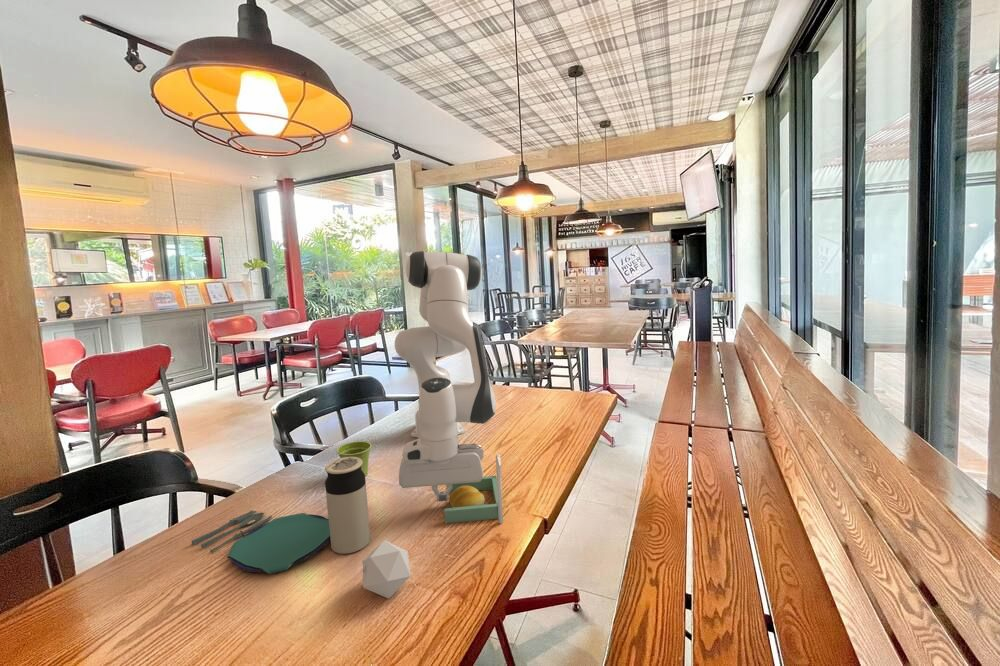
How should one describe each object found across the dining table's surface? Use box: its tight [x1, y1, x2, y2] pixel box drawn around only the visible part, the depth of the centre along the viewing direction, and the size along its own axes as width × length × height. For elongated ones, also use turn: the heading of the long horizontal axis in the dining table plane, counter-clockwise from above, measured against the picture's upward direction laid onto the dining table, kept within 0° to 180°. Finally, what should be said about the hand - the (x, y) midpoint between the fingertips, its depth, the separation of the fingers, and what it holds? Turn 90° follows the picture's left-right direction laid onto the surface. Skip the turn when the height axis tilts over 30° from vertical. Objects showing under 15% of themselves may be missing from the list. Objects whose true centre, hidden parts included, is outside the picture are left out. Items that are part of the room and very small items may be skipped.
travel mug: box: [324, 457, 371, 555], centre depth 93 cm, size 8×8×18 cm
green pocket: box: [444, 454, 504, 525], centre depth 104 cm, size 22×13×16 cm, turn 6°
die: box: [361, 539, 412, 600], centre depth 79 cm, size 8×9×10 cm
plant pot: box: [336, 440, 372, 478], centre depth 125 cm, size 9×9×9 cm
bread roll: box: [449, 485, 485, 508], centre depth 107 cm, size 8×9×4 cm
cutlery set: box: [191, 510, 331, 575], centre depth 96 cm, size 20×30×2 cm, turn 64°
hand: (443, 500), depth 107 cm, fingers closed
